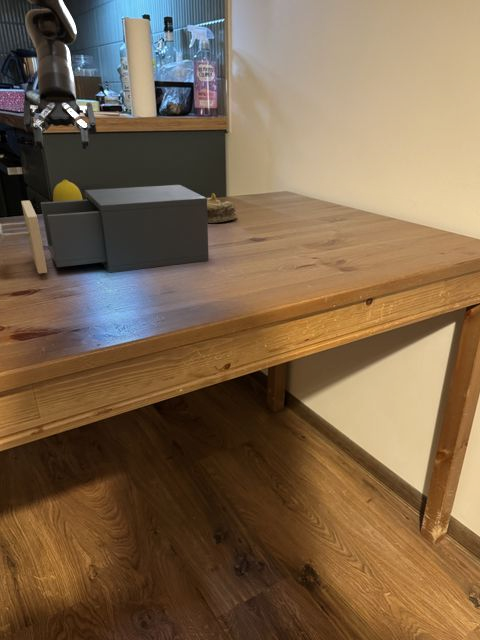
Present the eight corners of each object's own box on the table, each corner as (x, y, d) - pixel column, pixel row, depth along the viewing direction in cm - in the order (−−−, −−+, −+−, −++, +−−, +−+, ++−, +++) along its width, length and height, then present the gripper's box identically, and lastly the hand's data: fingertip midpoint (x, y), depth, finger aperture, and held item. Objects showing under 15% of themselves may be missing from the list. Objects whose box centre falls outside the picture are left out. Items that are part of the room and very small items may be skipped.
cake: (214, 229, 101) (211, 202, 98) (181, 221, 106) (178, 195, 104) (247, 217, 107) (245, 191, 104) (215, 210, 113) (212, 186, 110)
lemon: (76, 224, 99) (70, 182, 96) (51, 222, 100) (44, 181, 96) (90, 218, 104) (84, 178, 100) (65, 216, 105) (59, 176, 101)
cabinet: (108, 273, 74) (100, 205, 69) (92, 250, 84) (84, 190, 79) (208, 260, 80) (207, 198, 76) (182, 240, 90) (179, 184, 86)
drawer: (1, 278, 68) (-13, 219, 64) (-2, 255, 77) (-14, 203, 73) (141, 261, 76) (136, 208, 72) (123, 242, 85) (118, 194, 81)
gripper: (17, 69, 103) (22, 133, 99) (89, 71, 107) (97, 133, 103) (25, 97, 110) (30, 158, 106) (92, 98, 114) (99, 157, 110)
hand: (63, 146), depth 104 cm, fingers open, 8 cm apart
